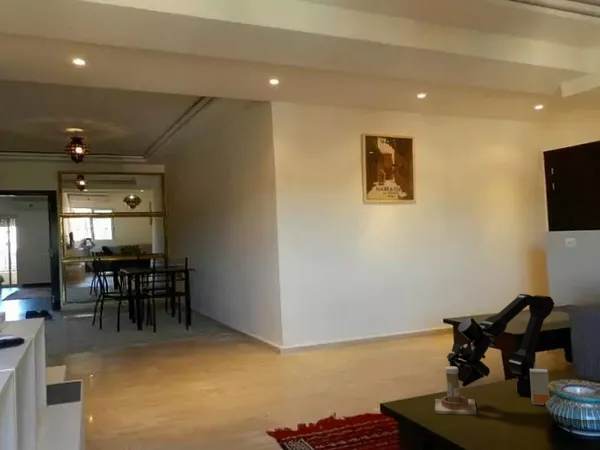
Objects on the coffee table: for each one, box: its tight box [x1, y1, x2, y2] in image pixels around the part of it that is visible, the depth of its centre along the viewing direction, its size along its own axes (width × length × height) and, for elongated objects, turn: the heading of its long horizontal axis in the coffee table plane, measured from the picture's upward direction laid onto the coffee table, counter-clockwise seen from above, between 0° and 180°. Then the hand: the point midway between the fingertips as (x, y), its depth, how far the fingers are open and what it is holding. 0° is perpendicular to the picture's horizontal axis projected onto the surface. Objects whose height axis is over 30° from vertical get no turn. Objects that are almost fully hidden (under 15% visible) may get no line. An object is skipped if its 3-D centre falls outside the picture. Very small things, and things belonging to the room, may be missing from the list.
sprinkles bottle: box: [445, 365, 461, 402], centre depth 191 cm, size 5×5×14 cm
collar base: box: [434, 395, 478, 415], centre depth 191 cm, size 14×14×3 cm
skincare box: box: [530, 368, 551, 406], centre depth 190 cm, size 6×4×12 cm
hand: (455, 382), depth 191 cm, fingers open, 9 cm apart
